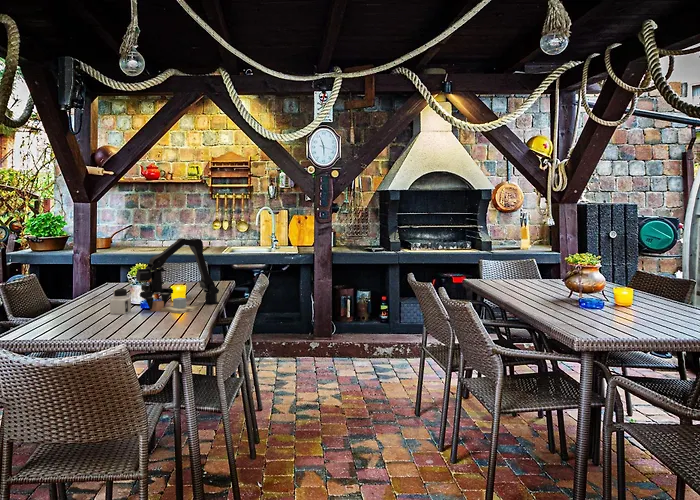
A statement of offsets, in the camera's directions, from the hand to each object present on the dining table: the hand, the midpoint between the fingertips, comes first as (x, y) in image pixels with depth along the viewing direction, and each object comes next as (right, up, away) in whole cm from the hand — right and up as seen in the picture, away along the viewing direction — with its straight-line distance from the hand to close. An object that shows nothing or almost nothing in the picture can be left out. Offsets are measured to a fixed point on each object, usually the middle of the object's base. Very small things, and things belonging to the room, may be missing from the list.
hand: (157, 308), depth 300 cm
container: (-17, -2, -8) cm, 19 cm away
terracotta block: (0, -1, 0) cm, 1 cm away
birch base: (+13, -1, 0) cm, 13 cm away
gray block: (+13, 0, 0) cm, 12 cm away
